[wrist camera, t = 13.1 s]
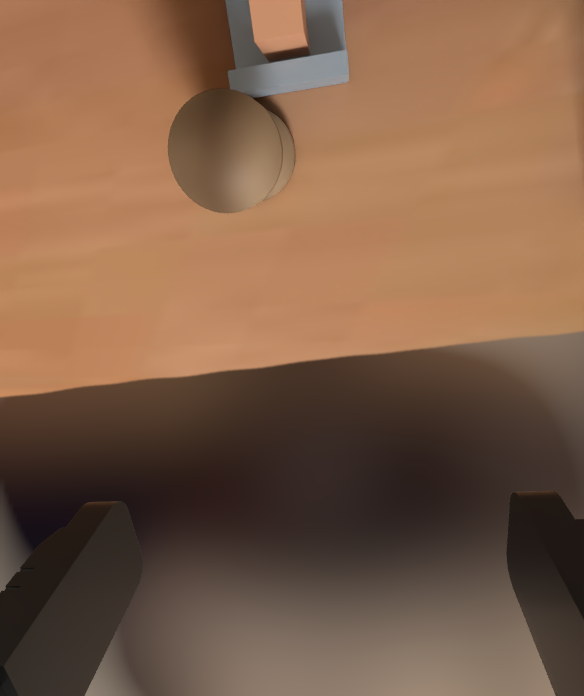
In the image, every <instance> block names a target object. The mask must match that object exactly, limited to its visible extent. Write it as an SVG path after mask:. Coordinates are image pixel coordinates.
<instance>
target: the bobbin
mask: <svg viewBox="0 0 584 696" xmlns="http://www.w3.org/2000/svg"><path fill="white" fill-rule="evenodd" d="M168 156H169V162H170V166H171V169H172V172H173V175H174V177H175V179H176V181H177V183H178V184H179V186H180V187H181V189H182V190H183V191H184V192H185V194H186V195H187V196H188V197H189V198H190V199H192V200H193V201H194V202H195V203H197V204H198V205H200V206H202V207H204V208H206V209H208V210H211V211H214V212H219V213H236V212H241V211H244V210H247V209H249V208H251V207H253V206H255V205H257V204H258V203H259V202H261V201H264V200H266V199H269V198H271V197H273V196H274V195H276V194H277V193H279V192H280V191H281V190H282V189H283V188H284V187H285V185H286V184H287V183H288V181H289V179H290V177H291V175H292V173H293V169H294V165H295V146H294V141H293V138H292V136H291V133H290V131H289V130H288V128H287V126H286V125H285V124H284V122H283V121H282V120H281V119H280V118H279V117H278V116H276V115H275V114H274V113H272V112H271V111H269V110H267V109H265V108H264V107H263V106H262V105H261V104H260V103H258V102H257V101H255V100H254V99H253V98H251V97H250V96H248V95H246V94H244V93H242V92H239V91H236V90H232V89H224V88H218V89H211V90H207V91H204V92H202V93H199V94H197V95H196V96H194V97H192V98H191V99H190V100H189V101H187V102H186V103H185V104H184V105H183V107H182V108H181V109H180V110H179V112H178V113H177V115H176V117H175V119H174V121H173V123H172V126H171V129H170V133H169V139H168Z"/></svg>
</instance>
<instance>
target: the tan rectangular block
mask: <svg viewBox="0 0 584 696" xmlns="http://www.w3.org/2000/svg"><path fill="white" fill-rule="evenodd" d="M249 6H250V13H251V20H252V27H253V35H254V42H255V43H256V45H257V46H258V47H259V49H260V50H261V51H262V53H263V54H264V56H265V57H266V58H267V60H268V61H269V62H271V61H276V60H282V59H287V58H293V57H299V56H304V55H310V48H309V38H308V28H307V18H306V8H305V0H249Z"/></svg>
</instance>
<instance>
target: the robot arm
mask: <svg viewBox="0 0 584 696" xmlns="http://www.w3.org/2000/svg"><path fill="white" fill-rule="evenodd" d="M507 536H508V537H507V552H506V555H507V565H508V571H509V576H510V580H511V583H512V586H513V589H514V592H515V594H516V597H517V599H518V602H519V604H520V607H521V609H522V612H523V614H524V617H525V619H526V622H527V624H528V627H529V629H530V632H531V634H532V637H533V640H534V642H535V645H536V647H537V650H538V652H539V655H540V657H541V659H542V662H543V664H544V667H545V670H546V672H547V675H548V677H549V680H550V682H551V685H552V687H553V690H554V692H555V695H556V696H584V519H576V520H575V519H574V517H573V515H572V514H571V512H570V511H569V509H568V508H567V507H566V505H565V503H564V502H563V500H562V499H561V497H560V496H559V495H558V494H557V493H556V492H555V491H536V492H513V493H512V494H511V496H510V502H509V518H508V535H507ZM142 565H143V560H142V554H141V550H140V547H139V544H138V540H137V537H136V534H135V531H134V527H133V524H132V521H131V518H130V514H129V511H128V508H127V506H126V505H125V504H124V503H123V502H120V501H118V502H89V503H86V504H85V505H83V506H82V507H81V508H80V510H79V511H78V513H77V514H76V515H75V516H74V518H73V519H72V520H71V521H70V523H69V524H68V525H67V527H65V528H64V527H63V528H60V529H59V530H58V531H56V532H55V533H54V534H53V535H51V536H50V537H49V538H48V539H47V540H45V541H44V542H42V543H41V544H40V545H39V546H38V547H37V548H36V549H35V550H34V551H33V553H32V554H31V555H30V557H29V558H28V559H27V560H26V561H25V563H24V564H23V565H22V566H21V570H20V572H17V573H16V574H15V575H14V576H13V578H12V579H11V580H10V581H9V583H8V584H7V585H6V589H5V591H1V593H0V696H84V695H85V693H86V691H87V689H88V687H89V685H90V683H91V681H92V679H93V677H94V675H95V673H96V671H97V669H98V667H99V665H100V663H101V661H102V658H103V657H104V654H105V653H106V651H107V648H108V646H109V644H110V642H111V640H112V638H113V636H114V634H115V632H116V630H117V628H118V626H119V624H120V622H121V620H122V618H123V616H124V614H125V612H126V610H127V608H128V606H129V604H130V602H131V599H132V597H133V595H134V593H135V591H136V589H137V587H138V585H139V582H140V579H141V574H142V567H143V566H142Z"/></svg>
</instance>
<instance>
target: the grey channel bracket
mask: <svg viewBox="0 0 584 696" xmlns="http://www.w3.org/2000/svg"><path fill="white" fill-rule="evenodd" d="M225 2H226V8H227V15H228V21H229V28H230V34H231V41H232V47H233V54H234V60H235V67H236V69H234V70H229V71H227V72H228V78H229V84H230V89H232V90H236V91H239V92H242V93H244V94H246V95H248V96H250V97H251V98H257V97H263V96H269V95H275V94H281V93H287V92H293V91H299V90H305V89H311V88H317V87H323V86H329V85H335V84H341V83H347V82H348V80H349V68H348V55H347V50H346V46H345V33H344V20H343V8H342V0H305V8H306V18H307V28H308V38H309V48H310V55H304V56H299V57H293V58H287V59H282V60H276V61H271V62H269V61H268V60H267V58H266V57H265V56H264V54H263V53H262V51H261V50H260V49H259V47H258V46H257V45H256V43H255V42H254V35H253V27H252V20H251V13H250V6H249V0H225Z"/></svg>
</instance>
